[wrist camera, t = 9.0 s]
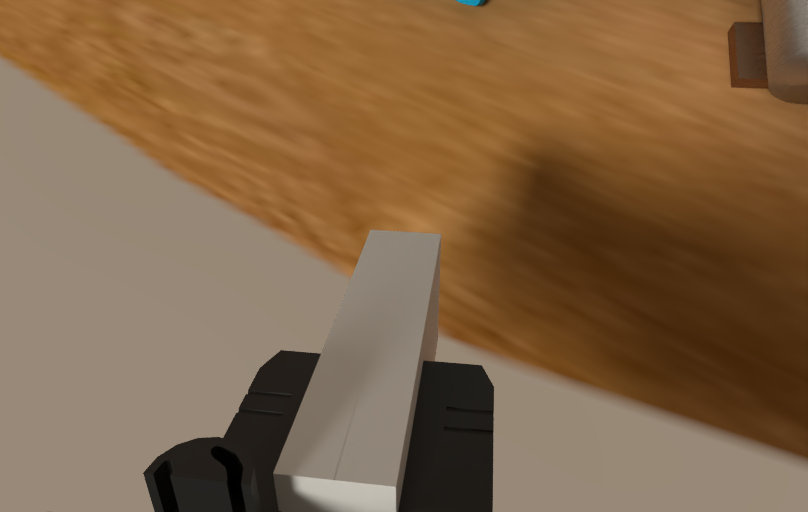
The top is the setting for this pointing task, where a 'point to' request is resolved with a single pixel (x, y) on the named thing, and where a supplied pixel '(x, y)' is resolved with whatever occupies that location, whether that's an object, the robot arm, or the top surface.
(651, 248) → the top surface
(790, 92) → the guide pipe
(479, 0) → the gear
